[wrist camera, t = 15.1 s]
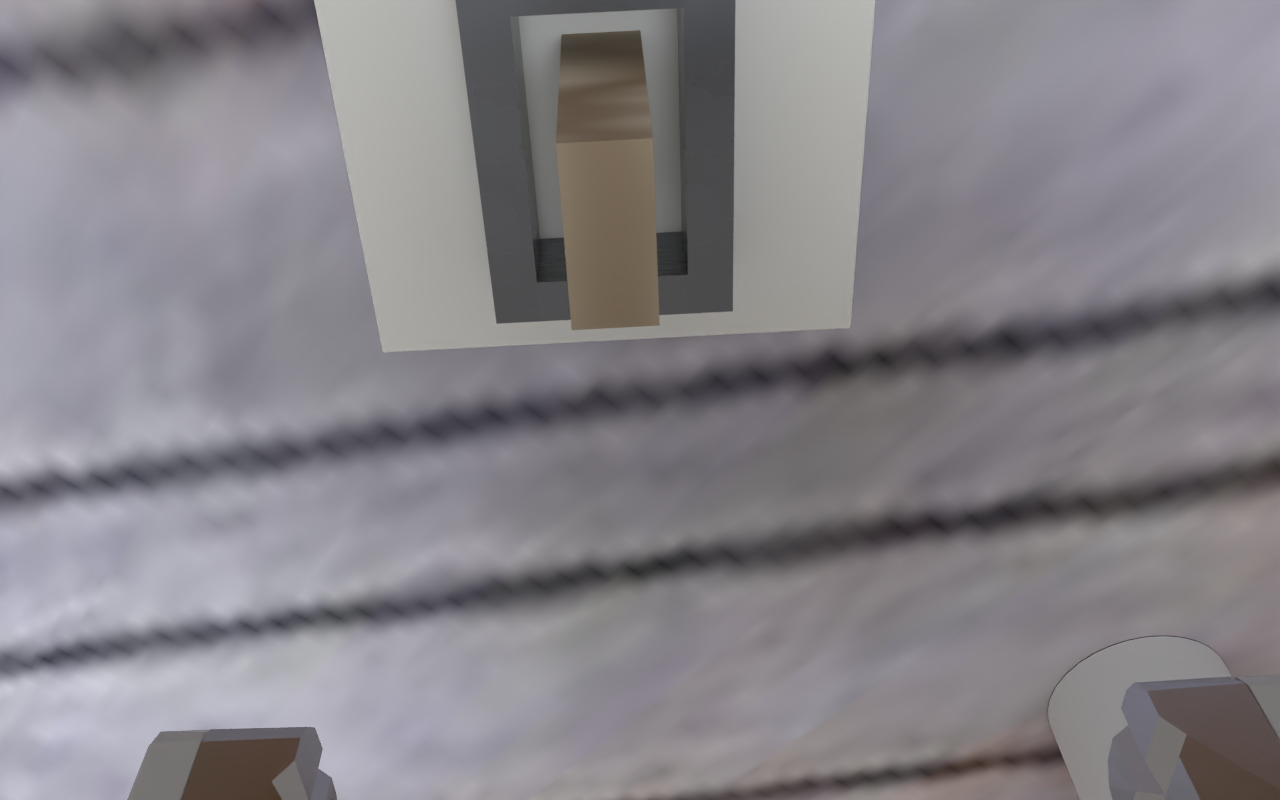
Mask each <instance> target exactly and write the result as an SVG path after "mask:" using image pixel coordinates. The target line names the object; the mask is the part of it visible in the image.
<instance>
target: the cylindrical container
mask: <svg viewBox="0 0 1280 800" xmlns="http://www.w3.org/2000/svg"><path fill="white" fill-rule="evenodd" d="M1228 676H1229V677H1232V676H1231V674H1230V672H1229V671H1228V669H1227V667H1226V666H1225V664H1224V662H1223V661H1222V659H1221V658H1220V656H1219V655H1218V654H1216V653H1215V652H1214V651H1213V650H1212V649H1211V648H1209V647H1207V646H1205V645H1203V644H1201V643H1199V642H1197V641H1193V640H1189V639H1186V638H1181V637H1170V636H1157V637H1144V638H1139V639H1134V640H1129V641H1125V642H1122V643H1119V644H1116V645H1113V646H1110V647H1108V648H1106V649H1103V650H1101V651H1099V652H1097V653H1095V654H1093V655H1091V656H1090V657H1088V658H1087V659H1085V660H1083V661H1082V662H1080V663H1079V664H1078V665H1076V666H1075V667H1074V668H1073V669H1072V670H1071V671H1069V672H1068V673H1067V674H1066V675H1065V676H1064V678H1063V679H1062V680H1061V681H1060V682H1059V684H1058V685H1057V686H1056V688H1055V690H1054V692H1053V694H1052V696H1051V698H1050V701H1049V706H1048V721H1049V724H1050V726H1051V729H1052V731H1053V734H1054V736H1055V739H1056V741H1057V744H1058V746H1059V749H1060V751H1061V754H1062V756H1063V759H1064V761H1065V764H1066V766H1067V769H1068V771H1069V774H1070V776H1071V779H1072V781H1073V784H1074V786H1075V789H1076V791H1077V794H1078V796H1079V799H1080V800H1112V796H1111V792H1110V789H1109V776H1108V757H1109V752H1110V748H1111V743H1112V739H1113V737H1114V736H1116V735H1117V734H1118V733H1119V732H1120V731H1122V730H1123V729H1124V728H1125V727H1127V726H1128V723H1127V721H1126V718H1125V716H1124V714H1123V712H1122V709H1121V706H1122V703H1123V699H1124V696H1125V693H1126V690H1127V689H1128V688H1129V687H1130V686H1131V685H1132V684H1133V683H1136V682H1151V681H1167V680H1182V679H1198V678H1213V677H1228ZM1232 678H1233V677H1232Z"/></svg>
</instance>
